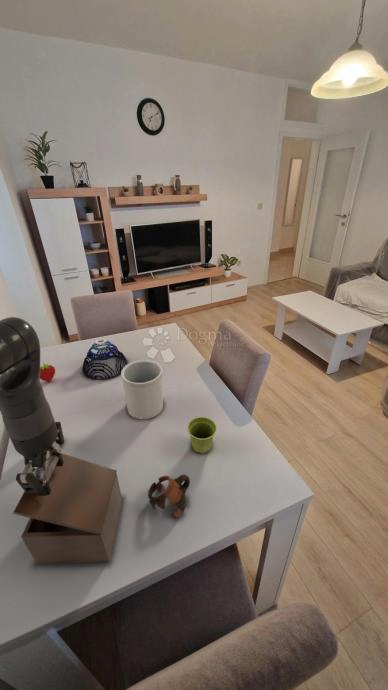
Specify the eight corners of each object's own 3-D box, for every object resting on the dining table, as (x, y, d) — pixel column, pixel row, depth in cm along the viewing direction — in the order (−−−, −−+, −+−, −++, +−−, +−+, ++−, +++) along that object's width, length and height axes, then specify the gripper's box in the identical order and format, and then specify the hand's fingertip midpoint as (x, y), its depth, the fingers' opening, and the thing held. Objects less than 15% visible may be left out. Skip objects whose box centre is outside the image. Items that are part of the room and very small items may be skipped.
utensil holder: (172, 403, 110) (170, 367, 101) (147, 427, 99) (142, 388, 90) (144, 390, 117) (140, 355, 108) (118, 411, 106) (111, 374, 97)
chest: (36, 563, 63) (20, 536, 57) (62, 500, 76) (51, 473, 70) (109, 561, 64) (100, 535, 58) (122, 499, 76) (116, 472, 70)
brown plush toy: (170, 530, 70) (153, 508, 68) (155, 512, 78) (139, 492, 76) (203, 492, 75) (188, 471, 73) (185, 479, 83) (171, 459, 81)
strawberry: (38, 382, 122) (31, 363, 117) (55, 375, 126) (50, 357, 121) (42, 388, 118) (35, 369, 113) (60, 381, 122) (54, 362, 117)
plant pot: (221, 450, 90) (222, 431, 86) (196, 462, 86) (196, 443, 82) (206, 431, 98) (206, 413, 93) (182, 441, 93) (182, 423, 89)
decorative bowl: (92, 355, 141) (86, 330, 134) (131, 356, 140) (127, 331, 133) (76, 379, 124) (69, 351, 116) (120, 380, 123) (116, 352, 116)
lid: (12, 513, 53) (19, 498, 51) (46, 450, 66) (52, 436, 63) (99, 534, 58) (109, 522, 55) (115, 472, 70) (124, 459, 68)
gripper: (29, 396, 57) (49, 451, 66) (-15, 455, 45) (16, 513, 53) (66, 396, 57) (81, 451, 66) (32, 455, 45) (56, 512, 53)
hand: (52, 478), depth 60 cm, fingers closed on lid, 6 cm apart
